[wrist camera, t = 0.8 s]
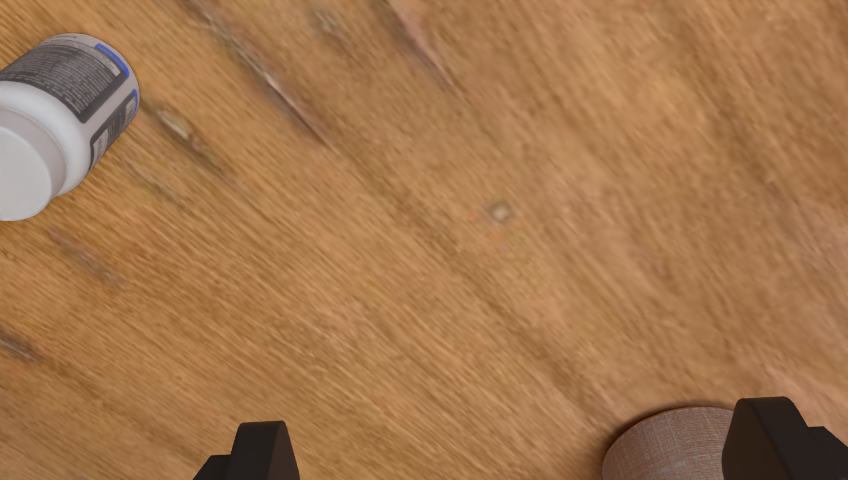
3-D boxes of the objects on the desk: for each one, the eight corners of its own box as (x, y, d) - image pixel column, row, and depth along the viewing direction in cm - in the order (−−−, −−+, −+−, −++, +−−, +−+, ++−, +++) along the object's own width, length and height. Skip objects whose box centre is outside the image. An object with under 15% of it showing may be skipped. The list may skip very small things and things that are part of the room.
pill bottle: (11, 42, 29) (-117, 124, 22) (113, 20, 29) (14, 96, 22) (65, 141, 32) (-34, 241, 25) (159, 122, 31) (85, 219, 24)
